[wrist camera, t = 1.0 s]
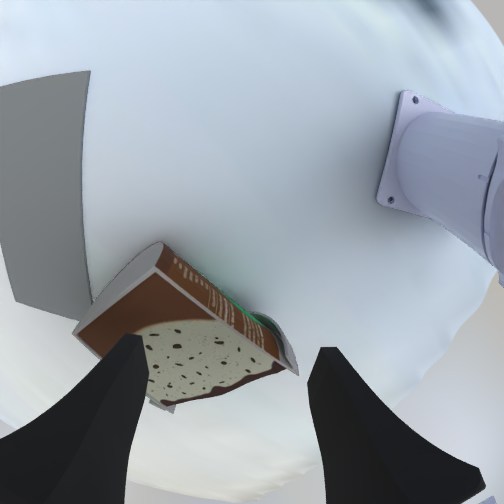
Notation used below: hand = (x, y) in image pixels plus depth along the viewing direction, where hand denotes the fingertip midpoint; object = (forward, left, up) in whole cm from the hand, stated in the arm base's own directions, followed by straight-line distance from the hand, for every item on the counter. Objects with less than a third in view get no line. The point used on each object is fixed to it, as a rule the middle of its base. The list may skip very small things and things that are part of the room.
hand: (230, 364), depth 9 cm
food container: (+7, +2, -7) cm, 10 cm away
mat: (+16, 0, -10) cm, 19 cm away
